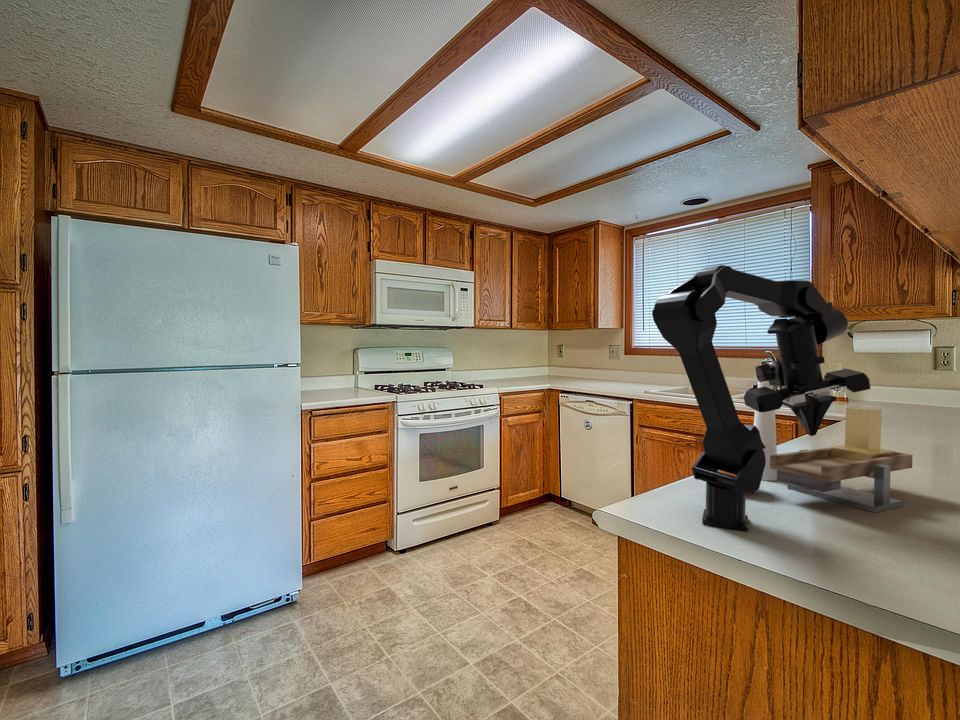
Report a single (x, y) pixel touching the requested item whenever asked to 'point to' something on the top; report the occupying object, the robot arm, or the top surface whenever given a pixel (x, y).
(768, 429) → the cosmetic bottle
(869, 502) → the beam stand
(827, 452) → the beam
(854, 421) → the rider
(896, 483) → the top surface
